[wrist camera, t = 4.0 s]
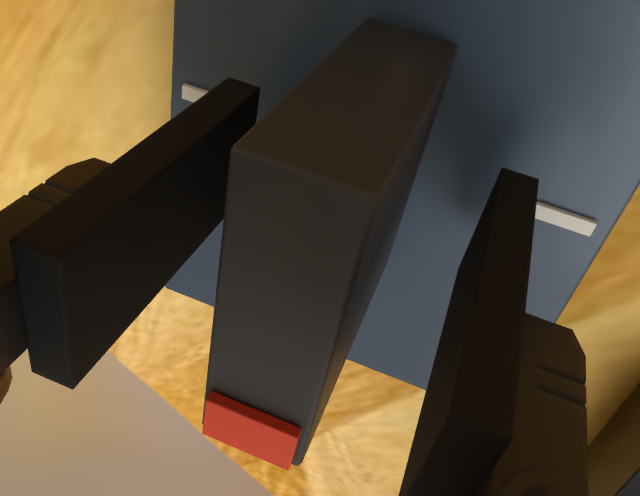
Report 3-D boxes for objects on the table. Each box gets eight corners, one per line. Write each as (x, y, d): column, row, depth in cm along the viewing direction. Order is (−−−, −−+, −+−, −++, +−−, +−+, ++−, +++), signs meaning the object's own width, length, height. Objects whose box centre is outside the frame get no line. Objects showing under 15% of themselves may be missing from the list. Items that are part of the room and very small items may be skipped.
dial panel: (251, -263, 13) (177, -282, 11) (780, -139, 12) (834, -128, 9) (207, 238, 22) (161, 291, 19) (506, 350, 20) (497, 424, 18)
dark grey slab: (366, 15, 13) (219, 153, 7) (459, 43, 12) (373, 207, 7) (315, 240, 16) (193, 437, 11) (386, 265, 16) (294, 481, 11)
